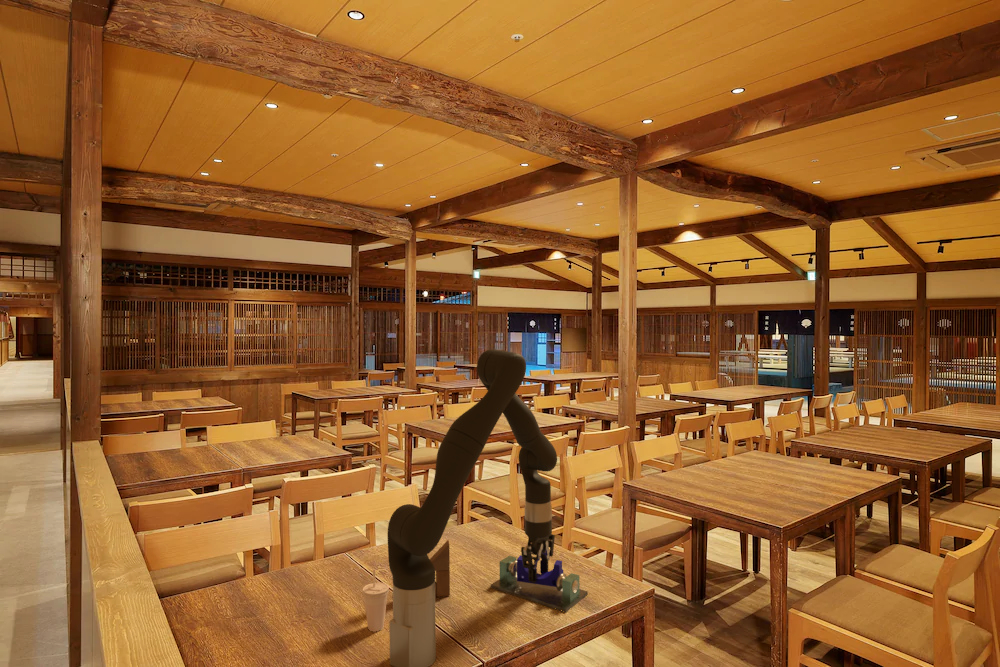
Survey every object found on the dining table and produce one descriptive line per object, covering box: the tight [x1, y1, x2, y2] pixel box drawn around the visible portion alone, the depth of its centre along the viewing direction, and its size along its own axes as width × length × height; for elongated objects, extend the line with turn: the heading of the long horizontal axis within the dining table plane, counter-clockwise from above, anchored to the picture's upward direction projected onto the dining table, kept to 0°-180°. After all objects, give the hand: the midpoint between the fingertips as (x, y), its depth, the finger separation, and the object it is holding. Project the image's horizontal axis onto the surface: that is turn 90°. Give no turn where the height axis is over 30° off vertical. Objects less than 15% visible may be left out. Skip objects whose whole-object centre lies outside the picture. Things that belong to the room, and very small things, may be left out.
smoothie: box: [361, 568, 390, 633], centre depth 136 cm, size 6×6×14 cm
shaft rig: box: [490, 555, 589, 613], centre depth 154 cm, size 12×24×6 cm, turn 54°
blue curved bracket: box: [516, 554, 564, 587], centre depth 154 cm, size 12×4×6 cm, turn 70°
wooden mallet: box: [429, 539, 451, 598], centre depth 152 cm, size 4×11×18 cm, turn 99°
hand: (538, 577), depth 154 cm, fingers closed on blue curved bracket, 5 cm apart
